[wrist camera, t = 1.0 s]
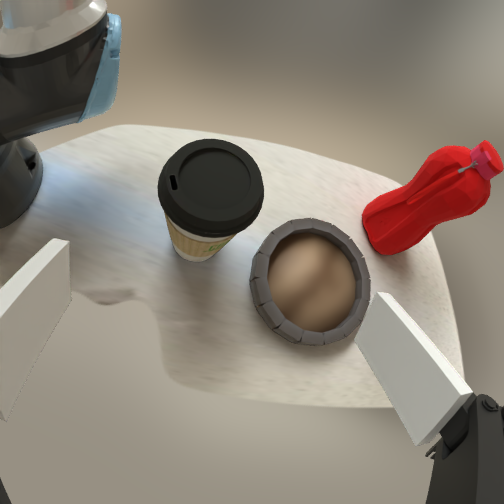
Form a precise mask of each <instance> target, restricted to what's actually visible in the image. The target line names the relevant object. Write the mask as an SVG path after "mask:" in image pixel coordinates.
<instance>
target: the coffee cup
mask: <svg viewBox="0 0 504 504" xmlns="http://www.w3.org/2000/svg"><path fill="white" fill-rule="evenodd" d="M158 197H159V200H160V204H161V206H162V208H163V210H164V213H165V217H166V222H167V226H168V230H169V234H170V237H171V240H172V242H173V246H174V248H175V250H176V252H177V253H178V254H179V255H180V256H181V257H183V258H184V259H186V260H189V261H192V262H201V261H205V260H207V259H209V258H210V257H212V256H213V255H214V254H215V253H216V252H218V251H219V250H220V249H221V248H223V247H224V246H225V245H226V244H227V243H228V242H229V241H230V240H231V239H232V238H233V237H234V236H235V235H236V234H237V233H239V232H241V231H243V230H245V229H246V228H247V227H248V226H249V225H251V224H252V223H253V221H254V220H255V219H256V218H257V216H258V214H259V212H260V210H261V208H262V203H263V199H264V186H263V181H262V176H261V172H260V170H259V168H258V165H257V164H256V162H255V161H254V159H253V158H252V157H251V156H250V155H249V154H248V153H247V152H246V151H245V150H243V149H242V148H240V147H239V146H237V145H235V144H233V143H230V142H227V141H224V140H218V139H202V140H196V141H194V142H191V143H188V144H186V145H185V146H183V147H181V148H180V149H179V150H178V151H177V152H176V153H175V154H174V155H173V156H172V157H170V158H169V160H168V161H167V162H166V164H165V165H164V167H163V169H162V171H161V174H160V176H159V181H158Z"/></svg>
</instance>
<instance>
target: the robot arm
mask: <svg viewBox="0 0 504 504" xmlns="http://www.w3.org/2000/svg"><path fill="white" fill-rule="evenodd" d="M0 8H1V14H2V19H3V23H4V24H3V26H2V28H1V29H0V228H3V227H5V226H7V225H9V224H10V223H12V222H13V221H15V220H16V219H17V218H18V217H19V216H20V215H22V213H23V212H24V211H25V210H26V209H27V208H28V207H29V205H30V204H31V202H32V201H33V199H34V197H35V196H36V194H37V191H38V189H39V186H40V183H41V180H42V173H43V165H42V160H41V157H40V155H39V153H38V151H37V149H36V147H35V145H34V144H33V143H32V142H31V141H30V140H29V139H27V138H26V137H27V136H30V135H33V134H36V133H40V132H43V131H47V130H50V129H53V128H57V127H61V126H65V125H69V124H73V123H79V122H82V121H83V120H84V119H88V118H91V117H95V116H98V115H101V114H104V113H105V112H106V111H108V110H109V109H110V108H111V107H112V105H113V103H114V100H115V96H116V91H117V83H118V74H119V61H120V59H119V53H120V45H121V18H120V17H119V16H118V15H113V14H107V3H106V1H105V0H0ZM70 302H71V283H70V241H66V240H61V239H56V238H53V239H52V240H51V241H49V242H48V243H47V244H46V245H45V246H44V247H43V248H42V249H41V250H40V251H38V252H37V253H36V254H35V255H34V256H33V257H32V258H31V259H30V260H29V261H28V262H27V263H26V264H25V265H24V266H23V267H22V268H21V269H20V270H19V271H18V272H17V273H16V274H15V275H14V276H13V277H12V278H11V279H10V280H9V281H8V282H7V283H6V284H5V285H4V286H3V287H2V288H1V289H0V419H1V420H4V421H6V422H7V420H8V418H9V416H10V413H11V411H12V409H13V407H14V404H15V402H16V400H17V398H18V396H19V394H20V392H21V390H22V388H23V386H24V383H25V382H26V380H27V378H28V376H29V374H30V372H31V370H32V368H33V366H34V364H35V362H36V360H37V359H38V357H39V355H40V353H41V351H42V349H43V348H44V346H45V344H46V342H47V341H48V339H49V337H50V335H51V334H52V332H53V330H54V328H55V327H56V325H57V323H58V322H59V320H60V319H61V317H62V315H63V313H64V312H65V310H66V309H67V307H68V306H69V304H70ZM354 341H355V342H356V344H357V345H358V347H359V349H360V350H361V352H362V354H363V355H364V357H365V359H366V360H367V362H368V364H369V365H370V367H371V369H372V371H373V372H374V374H375V376H376V377H377V379H378V381H379V382H380V384H381V386H382V388H383V389H384V391H385V393H386V394H387V396H388V398H389V400H390V401H391V403H392V405H393V407H394V408H395V410H396V412H397V414H398V415H399V417H400V419H401V421H402V422H403V424H404V426H405V428H406V430H407V432H408V433H409V435H410V437H411V439H412V440H413V442H414V444H415V446H420V445H423V444H426V443H429V442H430V441H431V440H432V439H433V438H434V437H435V436H436V435H437V434H438V433H440V434H441V436H442V438H441V439H440V440H439V441H438V442H437V443H436V444H435V445H434V446H433V447H432V448H431V449H430V450H429V451H428V452H427V453H426V455H425V456H426V457H428V456H429V455H430V454H431V453H432V452H436V453H435V454H434V455H432V457H431V459H434V465H433V471H432V477H431V481H430V486H429V491H428V496H427V500H426V504H504V406H503V407H501V406H499V405H498V404H497V403H496V402H495V401H494V400H493V399H492V398H491V397H489V396H488V395H484V394H480V395H478V396H476V395H475V394H474V393H473V391H472V390H471V389H470V388H469V386H468V385H467V384H466V382H465V381H464V380H463V379H462V377H461V376H460V375H459V374H458V372H457V371H456V370H455V369H454V367H453V366H452V365H451V364H450V362H449V361H448V360H447V359H446V358H445V356H444V355H443V354H442V353H441V352H440V350H439V349H438V348H437V347H436V346H435V345H434V343H433V342H432V341H431V340H430V339H429V337H428V336H427V335H426V334H425V333H424V332H423V331H422V329H421V328H420V327H419V326H418V325H417V324H416V323H415V321H414V320H413V319H412V318H411V317H410V316H409V315H408V314H407V312H406V311H405V310H404V309H403V308H402V307H401V306H400V305H399V304H398V302H397V301H396V300H395V299H394V298H393V297H392V296H391V295H390V294H389V293H383V292H376V294H375V297H374V299H373V301H372V303H371V305H370V307H369V310H368V312H367V314H366V316H365V318H364V320H363V322H362V324H361V326H360V328H359V330H358V332H357V334H356V336H355V338H354ZM0 504H11V501H10V499H9V497H8V495H7V493H6V490H5V488H4V486H3V484H2V481H1V479H0Z"/></svg>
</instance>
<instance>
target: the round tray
mask: <svg viewBox="0 0 504 504" xmlns="http://www.w3.org/2000/svg"><path fill="white" fill-rule="evenodd" d="M349 238H350V237H349V236H348V235H347V234H345V233H344V232H343V231H341V230H340V229H339V228H337V227H336V226H335V225H332V224H331V223H328V222H324V221H321V220H318V219H314V218H312V219H311V218H304V219H295V220H291V221H288V222H286V223H285V224H283V225H281V226H280V227H278V228H276V229H275V230H273V231H272V232H271V233H270V234H269V235H268V236H267V237H266V239H265V240H264V241H263V243H262V245H261V246H260V248H259V249H258V251H257V252H256V254H255V256H254V258H253V261H252V268H251V275H250V282H251V283H250V287H251V291H252V295H253V299H254V303H255V307H257V311H258V312H259V313H260V315H261V316H262V318H263V319H264V321H265V322H266V323H267V325H268V326H269V328H270V329H271V328H272V330H273V331H274V332H276V333H277V334H279V335H280V336H282V337H284V338H285V339H287V340H289V341H290V342H293V343H297V344H305V345H312V346H317V345H326V344H329V343H332V342H335V341H338V340H340V339H343V338H345V337H347V336H348V335H349V334H350V333H351V332H352V331H353V330H354V329H355V328H356V327H357V326H358V325H359V324H360V323H361V321H362V320H363V317H364V315H365V312H366V310H367V307H368V305H369V302H368V301H370V282H371V280H370V279H368V278H370V275H369V272H368V268H367V265H366V262H365V259H364V258H361V257H362V256H363V255H362V253H361V252H360V250H359V249H358V247H357V246H356V244H355V243H354V242H353V240H352V239H349Z"/></svg>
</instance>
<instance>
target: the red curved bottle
mask: <svg viewBox="0 0 504 504" xmlns="http://www.w3.org/2000/svg"><path fill="white" fill-rule="evenodd" d="M503 169H504V168H503V163H502V161H501V158H500V156H499V154H498V153H497V151H496V150H495V149H494V147H493V146H492V145H491V144H490V143H489V142H488V141H486V140H484V141H483V142H482V143H480V144H479V145H477V146H476V147H475V148H474V149H472V150H470V149H468V148H466V147H461V146H445V147H443V148H441V149H439V150H437V151H436V152H434V153H432V154H431V155H429V157H428V158H427V160H426V161H425V162H424V164H423V165H422V167H421V168H420V169H419V171H418V172H417V174H416V175H415V177H414V178H413V179H412V180H411V181H410V182H409V183H408V184H407V185H405V186H403V187H400V188H398V189H395V190H393V191H390V192H388V193H385V194H383V195H380V196H378V197H377V198H376V199H374V200H373V201H372V202H370V203H369V204H368V205H367V206H366V207H365V209H364V211H363V214H362V219H363V226H364V228H365V229H366V231H367V233H368V237H369V241H370V243H371V244H372V246H373V247H374V249H375V250H376V251H377V252H379V253H380V254H383V255H393V254H396V253H399V252H402V251H404V250H407V249H409V248H411V247H412V246H414V245H416V244H417V243H419V242H420V241H421V240H422V239H423V238H424V237H425V236H426V235H427V234H428V233H429V232H430V231H431V230H432V229H433V228H434V227H435V226H436V225H438V224H440V223H442V222H445V221H449V220H453V219H457V218H460V217H464V216H467V215H471V214H473V213H474V212H476V211H477V210H478V209H480V208H481V207H482V206H483V205H485V204H486V202H487V200H488V198H489V196H490V188H491V185H490V179H491V178H493V177H494V176H496V175H497V174H499V173H501V172H502V171H503Z"/></svg>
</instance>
